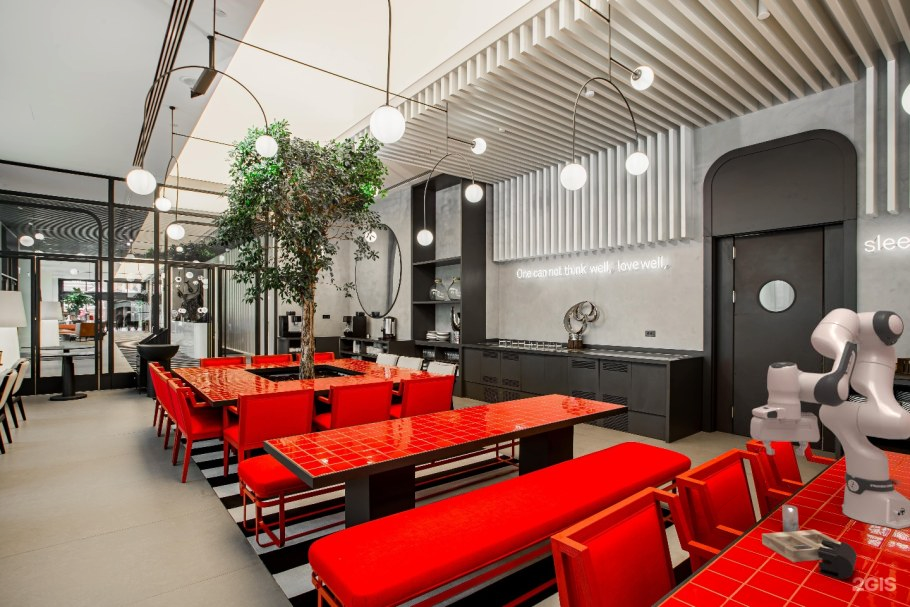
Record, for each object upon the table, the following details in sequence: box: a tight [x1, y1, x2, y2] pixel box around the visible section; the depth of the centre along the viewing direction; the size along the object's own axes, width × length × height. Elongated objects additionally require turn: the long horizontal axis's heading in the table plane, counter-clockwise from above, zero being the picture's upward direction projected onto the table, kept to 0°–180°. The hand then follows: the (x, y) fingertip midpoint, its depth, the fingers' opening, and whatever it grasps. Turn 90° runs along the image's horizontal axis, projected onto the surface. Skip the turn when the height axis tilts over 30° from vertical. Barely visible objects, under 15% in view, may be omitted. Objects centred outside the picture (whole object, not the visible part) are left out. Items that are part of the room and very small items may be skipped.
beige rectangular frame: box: [761, 529, 841, 563], centre depth 137 cm, size 18×11×3 cm, turn 98°
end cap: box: [818, 540, 858, 580], centre depth 125 cm, size 10×7×7 cm
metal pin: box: [781, 504, 800, 532], centre depth 149 cm, size 4×4×8 cm
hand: (785, 454), depth 151 cm, fingers open, 8 cm apart
